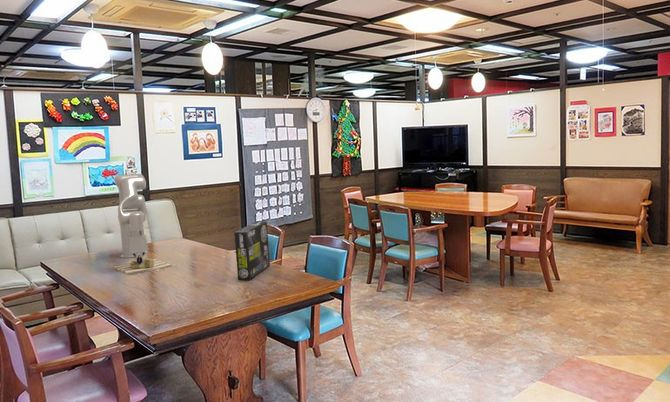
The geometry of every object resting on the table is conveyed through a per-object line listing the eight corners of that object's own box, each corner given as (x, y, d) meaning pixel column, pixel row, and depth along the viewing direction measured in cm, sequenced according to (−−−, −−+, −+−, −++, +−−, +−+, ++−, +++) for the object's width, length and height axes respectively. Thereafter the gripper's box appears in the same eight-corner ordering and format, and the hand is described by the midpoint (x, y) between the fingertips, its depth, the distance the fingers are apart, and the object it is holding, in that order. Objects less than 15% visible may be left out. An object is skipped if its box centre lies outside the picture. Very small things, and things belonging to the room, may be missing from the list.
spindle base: (113, 268, 324) (112, 262, 324) (154, 260, 341) (154, 255, 341) (128, 275, 305) (128, 268, 304) (171, 266, 322) (171, 260, 321)
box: (250, 280, 280) (247, 231, 278) (237, 280, 282) (233, 231, 279) (270, 266, 313) (267, 221, 310) (258, 265, 315) (255, 221, 312)
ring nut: (140, 270, 310) (140, 262, 309) (125, 265, 322) (125, 258, 322) (162, 265, 320) (162, 257, 319) (147, 261, 333) (146, 254, 332)
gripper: (123, 235, 306) (126, 266, 308) (150, 233, 312) (153, 263, 314) (123, 233, 313) (126, 264, 315) (150, 231, 319) (152, 261, 321)
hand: (139, 263), depth 314 cm, fingers closed
